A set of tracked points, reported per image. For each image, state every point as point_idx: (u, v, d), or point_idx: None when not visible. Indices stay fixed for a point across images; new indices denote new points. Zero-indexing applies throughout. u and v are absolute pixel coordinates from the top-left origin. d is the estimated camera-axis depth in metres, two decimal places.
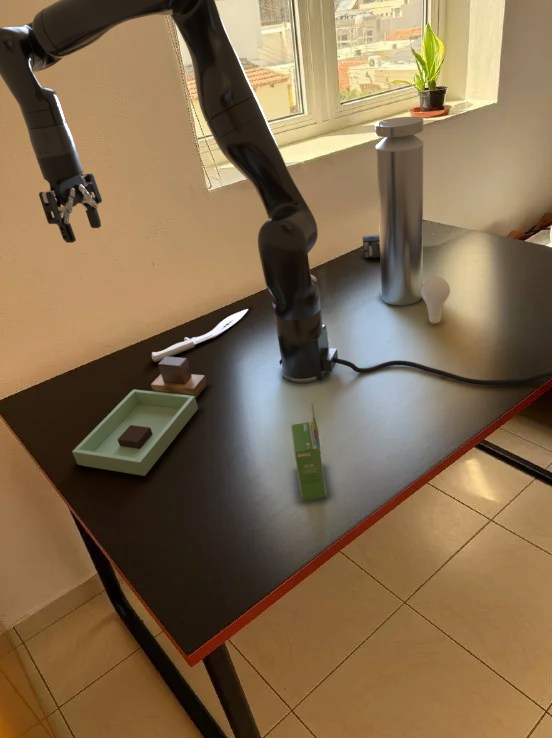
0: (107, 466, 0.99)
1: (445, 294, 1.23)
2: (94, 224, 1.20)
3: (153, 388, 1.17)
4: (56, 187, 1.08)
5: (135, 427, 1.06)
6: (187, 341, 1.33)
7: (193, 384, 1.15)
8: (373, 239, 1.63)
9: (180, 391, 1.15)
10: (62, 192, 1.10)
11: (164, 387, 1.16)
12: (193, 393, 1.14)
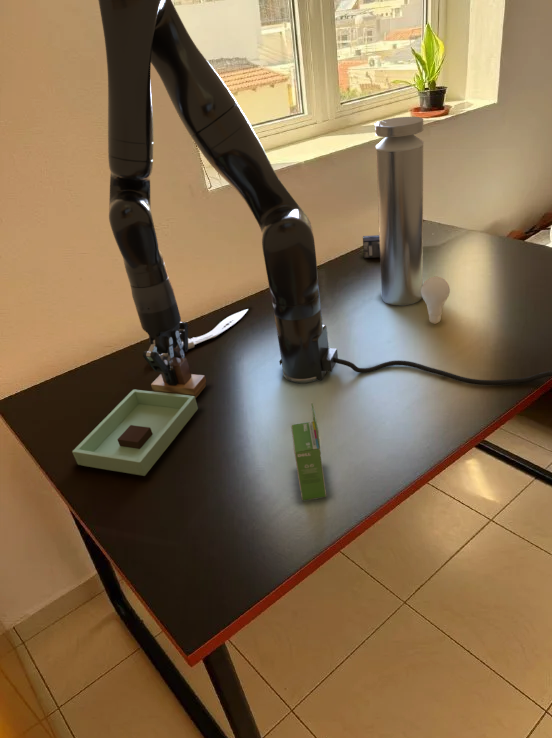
0: (107, 466, 0.99)
1: (445, 294, 1.23)
2: None
3: (153, 388, 1.17)
4: (156, 339, 1.07)
5: (135, 427, 1.06)
6: None
7: (193, 384, 1.15)
8: (373, 239, 1.63)
9: (180, 391, 1.15)
10: (161, 342, 1.08)
11: (164, 387, 1.16)
12: (193, 393, 1.14)
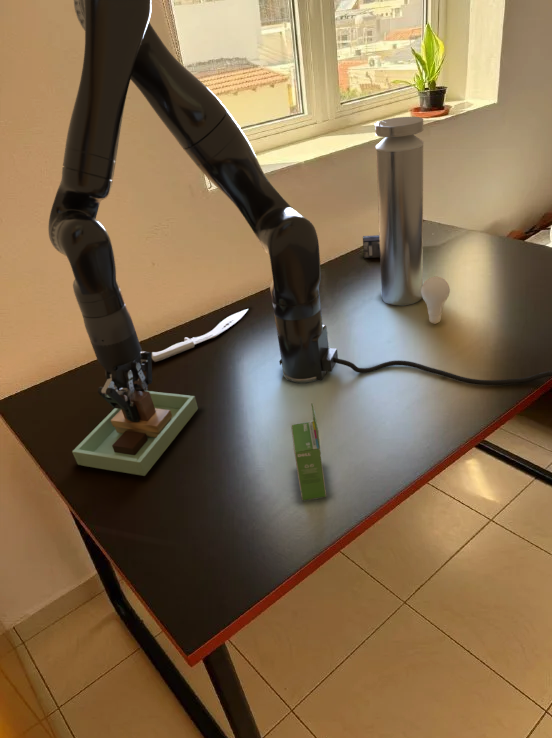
0: (107, 466, 0.99)
1: (445, 294, 1.23)
2: None
3: (113, 424, 1.06)
4: (113, 373, 0.96)
5: (130, 433, 1.05)
6: (187, 341, 1.33)
7: (157, 420, 1.04)
8: (373, 239, 1.63)
9: (142, 428, 1.04)
10: (119, 376, 0.97)
11: (125, 424, 1.05)
12: (156, 431, 1.03)
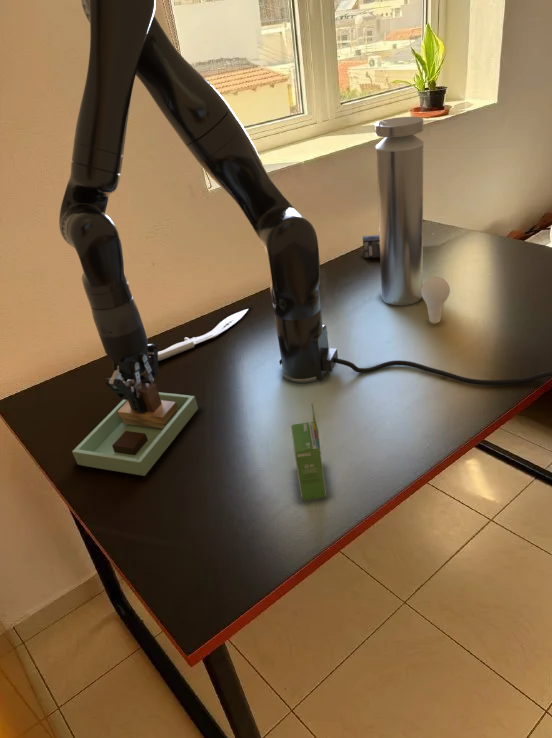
0: (107, 466, 0.99)
1: (445, 294, 1.23)
2: None
3: (120, 415, 1.08)
4: (120, 365, 0.98)
5: (130, 433, 1.05)
6: (187, 341, 1.33)
7: (162, 412, 1.06)
8: (373, 239, 1.63)
9: (148, 419, 1.06)
10: (126, 368, 0.99)
11: (131, 415, 1.07)
12: (162, 422, 1.05)
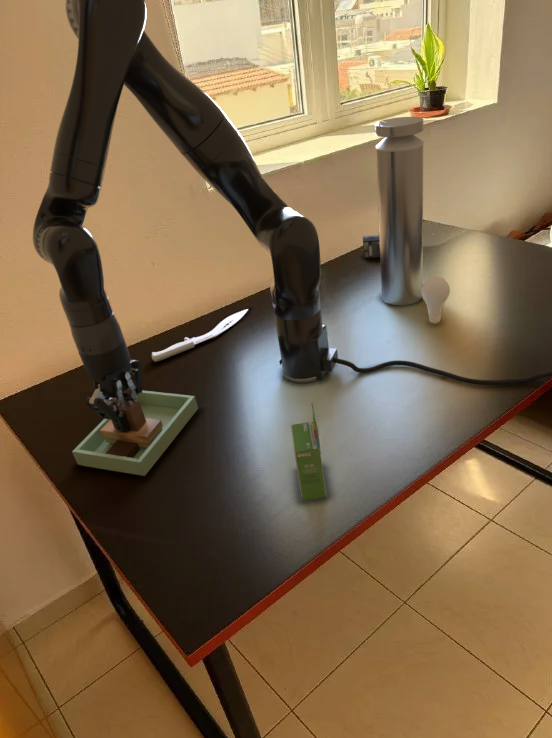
0: (107, 466, 0.99)
1: (445, 294, 1.23)
2: None
3: (103, 434, 1.04)
4: (101, 383, 0.94)
5: (122, 442, 1.03)
6: (187, 341, 1.33)
7: (147, 430, 1.01)
8: (373, 239, 1.63)
9: (132, 439, 1.02)
10: (107, 386, 0.95)
11: (114, 434, 1.02)
12: (146, 441, 1.01)
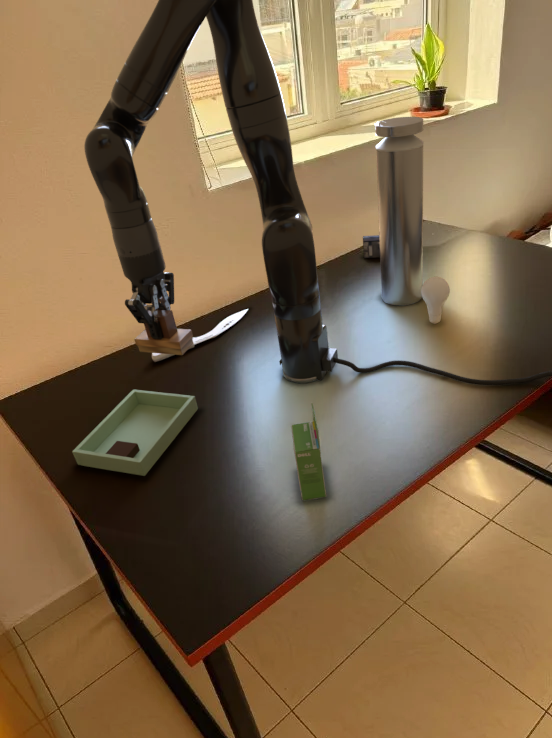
0: (107, 466, 0.99)
1: (445, 294, 1.23)
2: None
3: (137, 343, 1.10)
4: (139, 286, 1.00)
5: (122, 443, 1.02)
6: None
7: (179, 337, 1.08)
8: (373, 239, 1.63)
9: (165, 345, 1.08)
10: (145, 290, 1.02)
11: (148, 341, 1.09)
12: (179, 347, 1.07)
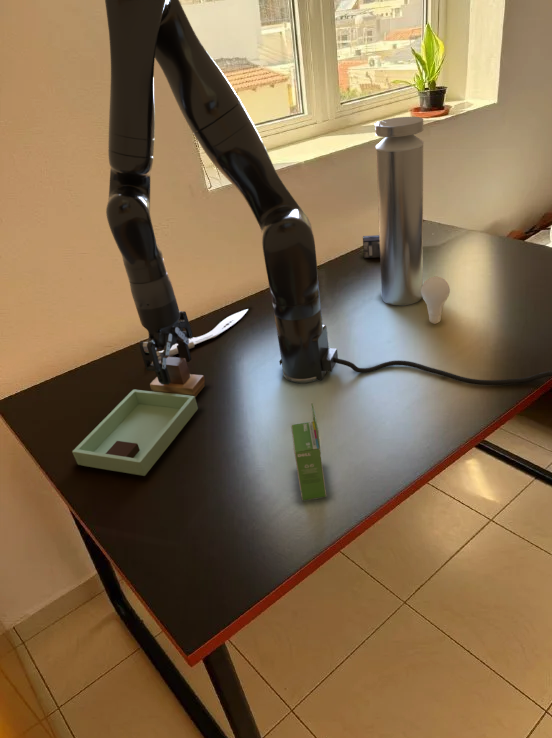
0: (107, 466, 0.99)
1: (445, 294, 1.23)
2: None
3: (152, 388, 1.17)
4: (155, 335, 1.07)
5: (122, 443, 1.02)
6: None
7: (192, 384, 1.15)
8: (373, 239, 1.63)
9: (178, 391, 1.15)
10: (161, 338, 1.08)
11: (163, 387, 1.16)
12: (192, 393, 1.14)
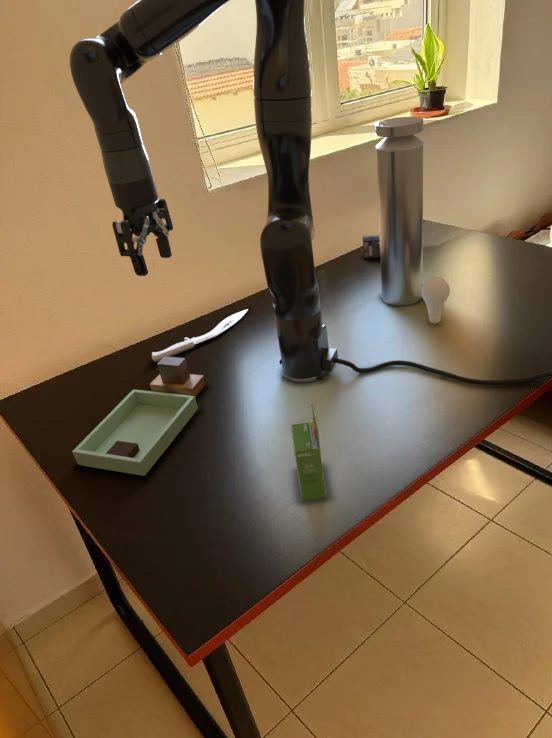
0: (107, 466, 0.99)
1: (445, 294, 1.23)
2: (164, 254, 1.09)
3: (152, 388, 1.17)
4: (130, 216, 0.97)
5: (122, 443, 1.02)
6: (187, 341, 1.33)
7: (192, 384, 1.15)
8: (373, 239, 1.63)
9: (178, 391, 1.15)
10: (136, 221, 0.98)
11: (163, 387, 1.16)
12: (192, 393, 1.14)
